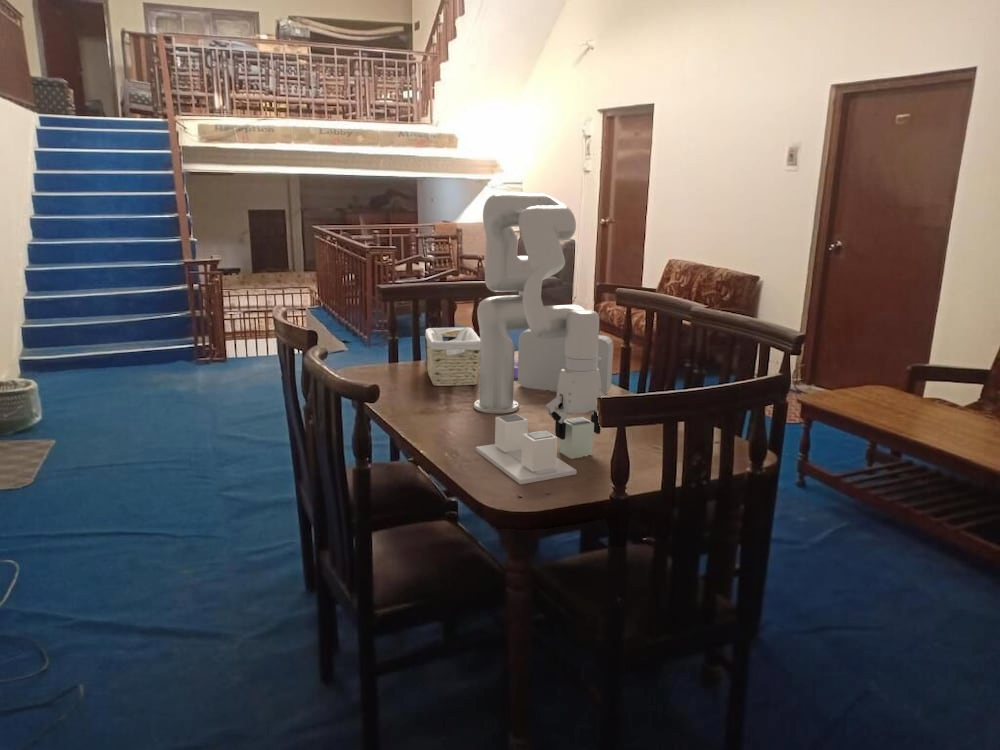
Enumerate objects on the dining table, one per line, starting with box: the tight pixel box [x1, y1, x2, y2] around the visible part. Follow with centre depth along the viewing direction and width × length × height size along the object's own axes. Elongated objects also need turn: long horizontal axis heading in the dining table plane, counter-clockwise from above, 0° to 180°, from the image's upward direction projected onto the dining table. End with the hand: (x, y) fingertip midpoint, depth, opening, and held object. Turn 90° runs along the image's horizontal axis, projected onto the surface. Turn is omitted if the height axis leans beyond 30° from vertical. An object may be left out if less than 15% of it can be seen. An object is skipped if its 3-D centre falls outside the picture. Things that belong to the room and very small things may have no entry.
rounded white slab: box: [517, 328, 615, 395], centre depth 226 cm, size 29×8×18 cm, turn 67°
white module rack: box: [475, 413, 577, 485], centre depth 166 cm, size 22×14×9 cm, turn 27°
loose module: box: [559, 416, 595, 459], centre depth 173 cm, size 5×6×8 cm
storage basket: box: [424, 327, 480, 387], centre depth 237 cm, size 24×16×15 cm
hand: (578, 435), depth 172 cm, fingers open, 9 cm apart
